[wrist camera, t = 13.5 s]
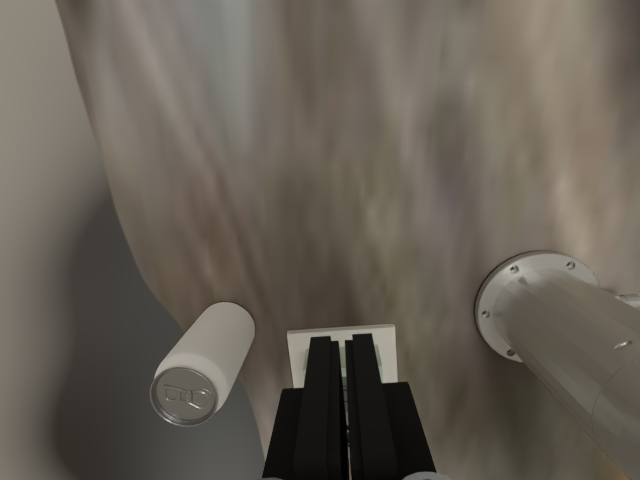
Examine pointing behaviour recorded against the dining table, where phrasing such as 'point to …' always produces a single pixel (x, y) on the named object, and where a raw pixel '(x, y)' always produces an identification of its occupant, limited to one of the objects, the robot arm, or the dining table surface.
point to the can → (203, 366)
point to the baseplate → (380, 334)
